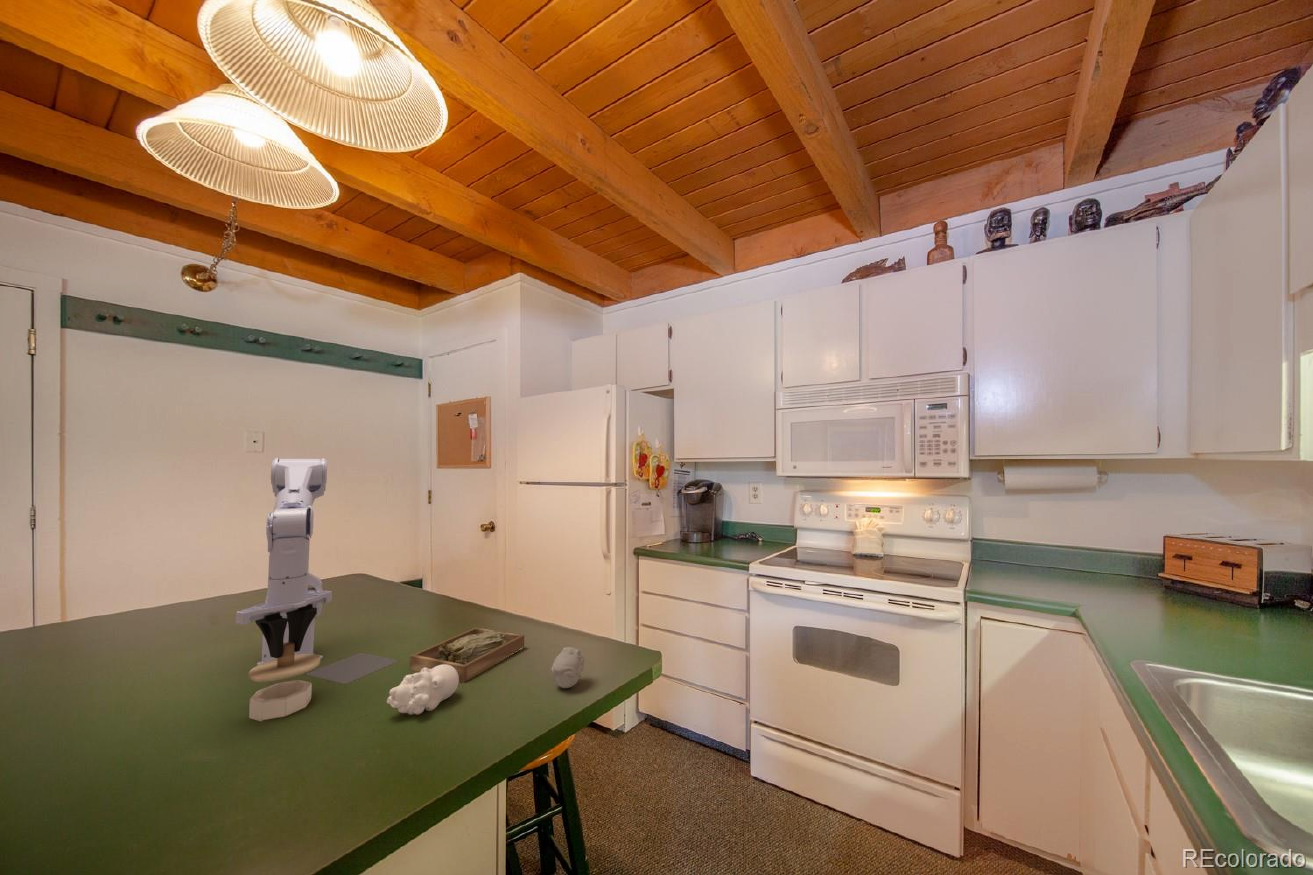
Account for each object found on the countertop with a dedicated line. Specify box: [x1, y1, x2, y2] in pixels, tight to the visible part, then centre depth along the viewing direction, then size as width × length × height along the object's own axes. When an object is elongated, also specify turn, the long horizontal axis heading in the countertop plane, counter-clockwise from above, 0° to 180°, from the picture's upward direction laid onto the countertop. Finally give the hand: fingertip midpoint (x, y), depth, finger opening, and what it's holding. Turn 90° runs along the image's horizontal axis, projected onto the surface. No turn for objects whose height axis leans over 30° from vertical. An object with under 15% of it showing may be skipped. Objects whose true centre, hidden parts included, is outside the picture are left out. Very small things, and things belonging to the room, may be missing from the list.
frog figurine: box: [550, 646, 585, 689], centre depth 92 cm, size 6×7×7 cm
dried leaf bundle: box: [437, 629, 507, 665], centre depth 105 cm, size 14×10×5 cm, turn 139°
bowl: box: [248, 679, 313, 722], centre depth 84 cm, size 8×8×3 cm
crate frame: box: [409, 627, 525, 683], centre depth 105 cm, size 15×19×3 cm
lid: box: [247, 642, 321, 683], centre depth 85 cm, size 10×10×4 cm
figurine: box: [386, 664, 459, 716], centre depth 84 cm, size 7×7×12 cm
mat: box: [304, 652, 400, 685], centre depth 100 cm, size 12×12×1 cm
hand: (285, 653), depth 85 cm, fingers closed on lid, 2 cm apart
